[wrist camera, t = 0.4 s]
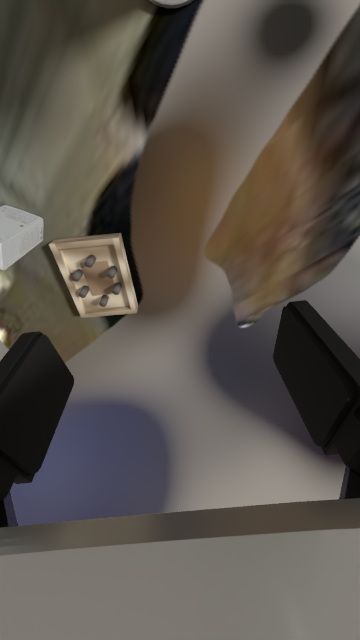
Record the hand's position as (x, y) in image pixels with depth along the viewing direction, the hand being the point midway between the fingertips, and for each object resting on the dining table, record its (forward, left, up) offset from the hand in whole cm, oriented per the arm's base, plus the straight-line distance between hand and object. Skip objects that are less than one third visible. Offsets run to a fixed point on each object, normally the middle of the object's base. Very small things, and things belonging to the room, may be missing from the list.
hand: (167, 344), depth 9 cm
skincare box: (+2, -25, -35) cm, 43 cm away
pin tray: (+13, -15, -35) cm, 41 cm away
